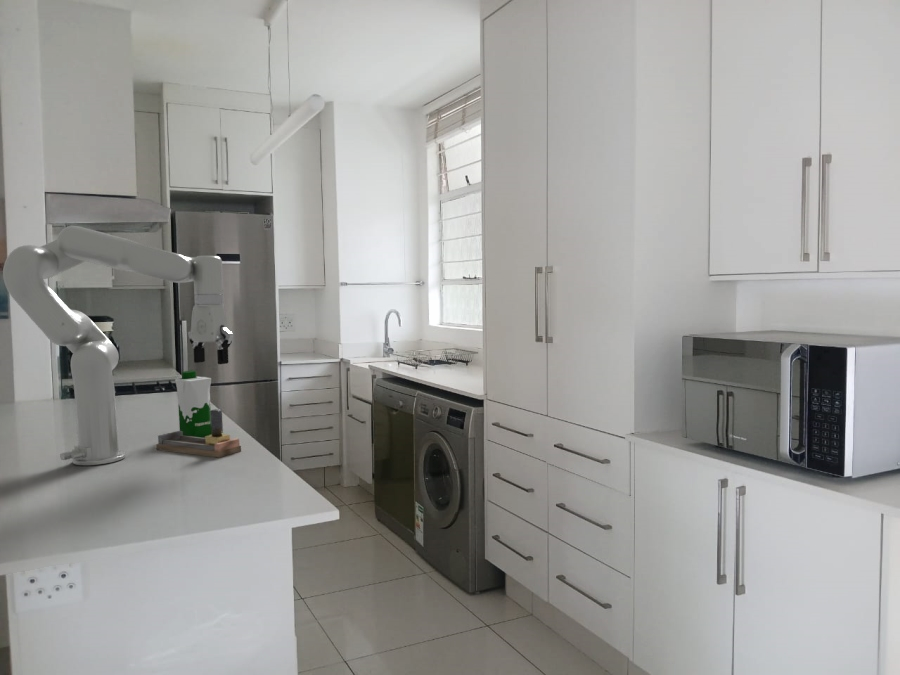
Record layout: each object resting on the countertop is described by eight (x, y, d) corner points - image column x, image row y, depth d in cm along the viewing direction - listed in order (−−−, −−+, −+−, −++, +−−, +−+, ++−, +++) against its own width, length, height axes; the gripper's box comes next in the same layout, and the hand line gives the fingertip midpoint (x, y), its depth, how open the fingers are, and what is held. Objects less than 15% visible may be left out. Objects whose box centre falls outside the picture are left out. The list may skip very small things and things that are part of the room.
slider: (218, 448, 187) (216, 411, 186) (205, 447, 189) (203, 410, 189) (230, 445, 190) (228, 409, 190) (217, 444, 193) (215, 408, 192)
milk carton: (200, 432, 219) (197, 369, 218) (217, 435, 214) (214, 371, 212) (175, 437, 212) (171, 372, 211) (192, 440, 207) (188, 374, 206)
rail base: (218, 457, 184) (217, 443, 184) (156, 449, 197) (155, 435, 196) (241, 451, 191) (240, 437, 191) (180, 443, 204) (179, 430, 203)
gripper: (177, 301, 192) (179, 362, 193) (219, 301, 183) (221, 365, 184) (199, 300, 198) (201, 360, 199) (241, 300, 189) (243, 363, 190)
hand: (211, 363), depth 192 cm, fingers open, 9 cm apart
